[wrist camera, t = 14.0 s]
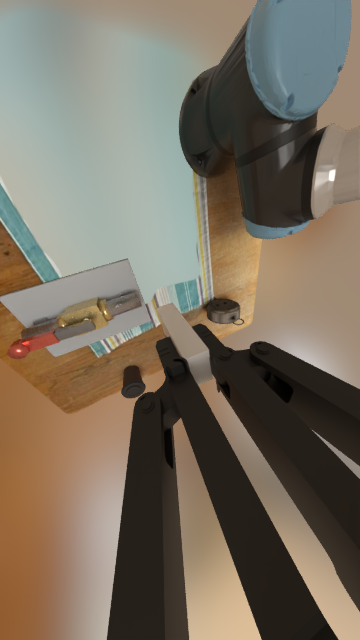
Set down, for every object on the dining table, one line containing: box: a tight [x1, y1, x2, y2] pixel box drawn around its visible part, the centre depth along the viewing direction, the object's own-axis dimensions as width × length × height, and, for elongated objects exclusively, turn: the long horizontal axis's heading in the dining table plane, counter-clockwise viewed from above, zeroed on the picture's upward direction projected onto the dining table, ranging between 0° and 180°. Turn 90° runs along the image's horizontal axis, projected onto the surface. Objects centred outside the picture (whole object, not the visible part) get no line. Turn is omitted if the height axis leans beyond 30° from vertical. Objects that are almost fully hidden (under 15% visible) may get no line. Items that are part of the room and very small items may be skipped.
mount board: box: [0, 259, 151, 357], centre depth 44 cm, size 20×30×2 cm, turn 102°
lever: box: [7, 318, 96, 359], centre depth 36 cm, size 16×3×5 cm, turn 99°
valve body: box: [21, 289, 142, 339], centre depth 41 cm, size 6×28×6 cm, turn 102°
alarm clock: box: [203, 297, 244, 325], centre depth 53 cm, size 11×5×16 cm, turn 95°
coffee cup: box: [121, 366, 145, 398], centre depth 57 cm, size 8×8×10 cm
